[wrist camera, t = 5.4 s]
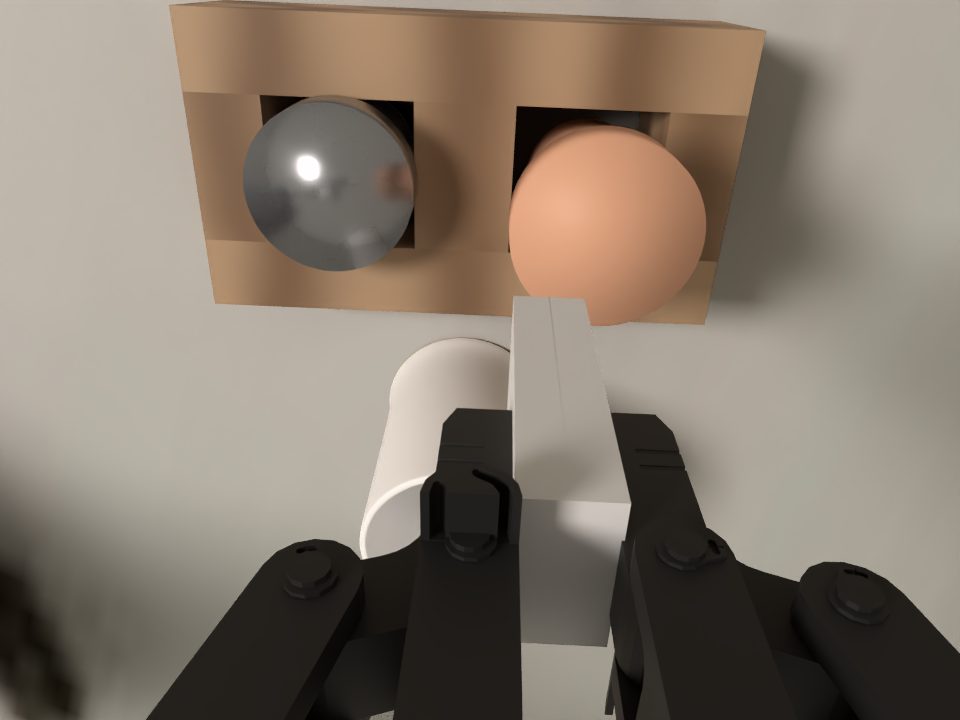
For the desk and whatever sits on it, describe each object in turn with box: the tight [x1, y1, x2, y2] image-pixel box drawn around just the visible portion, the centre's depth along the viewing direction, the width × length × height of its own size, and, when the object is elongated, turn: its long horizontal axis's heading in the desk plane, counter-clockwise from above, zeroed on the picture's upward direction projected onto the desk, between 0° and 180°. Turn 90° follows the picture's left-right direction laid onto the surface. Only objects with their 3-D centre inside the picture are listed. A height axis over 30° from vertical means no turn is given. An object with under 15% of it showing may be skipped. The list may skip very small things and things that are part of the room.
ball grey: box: [243, 95, 418, 271], centre depth 30 cm, size 6×6×8 cm
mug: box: [360, 338, 510, 559], centre depth 36 cm, size 12×8×12 cm
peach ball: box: [509, 118, 706, 326], centre depth 27 cm, size 6×6×8 cm
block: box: [169, 0, 766, 325], centre depth 32 cm, size 22×12×6 cm, turn 88°
